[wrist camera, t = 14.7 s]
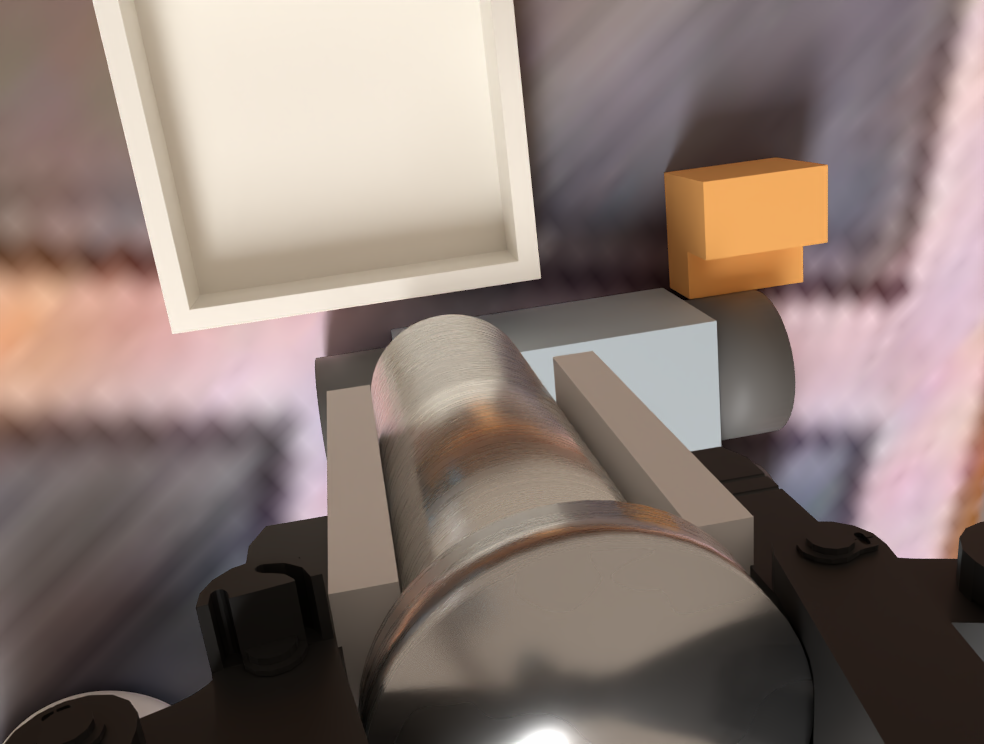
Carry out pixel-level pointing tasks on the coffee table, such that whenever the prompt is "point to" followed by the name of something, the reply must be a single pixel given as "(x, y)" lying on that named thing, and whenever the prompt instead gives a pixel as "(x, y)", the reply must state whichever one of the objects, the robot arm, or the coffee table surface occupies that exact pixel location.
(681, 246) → the block
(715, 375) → the trolley
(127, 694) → the cup
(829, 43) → the coffee table surface
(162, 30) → the tray
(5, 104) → the coffee table surface
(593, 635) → the pin
